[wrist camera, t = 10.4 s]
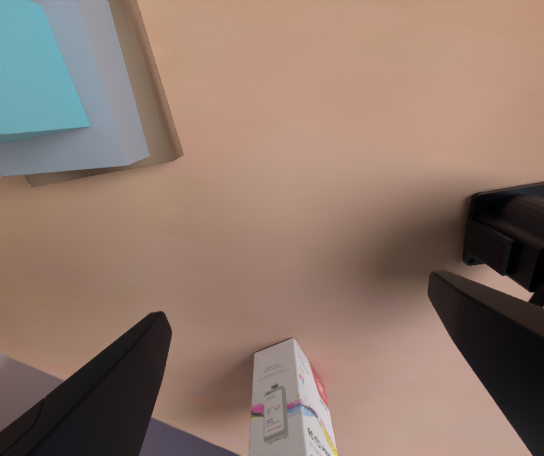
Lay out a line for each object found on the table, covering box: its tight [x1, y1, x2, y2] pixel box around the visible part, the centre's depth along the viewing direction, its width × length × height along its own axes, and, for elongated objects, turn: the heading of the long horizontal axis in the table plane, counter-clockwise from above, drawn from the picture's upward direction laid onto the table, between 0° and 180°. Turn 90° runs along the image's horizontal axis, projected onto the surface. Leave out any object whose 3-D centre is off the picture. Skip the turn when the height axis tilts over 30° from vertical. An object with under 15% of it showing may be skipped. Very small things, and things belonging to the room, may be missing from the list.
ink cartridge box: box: [249, 338, 338, 456], centre depth 22 cm, size 9×5×15 cm, turn 27°
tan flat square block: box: [25, 0, 184, 187], centre depth 17 cm, size 10×10×3 cm
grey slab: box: [0, 0, 150, 177], centre depth 14 cm, size 8×8×3 cm
